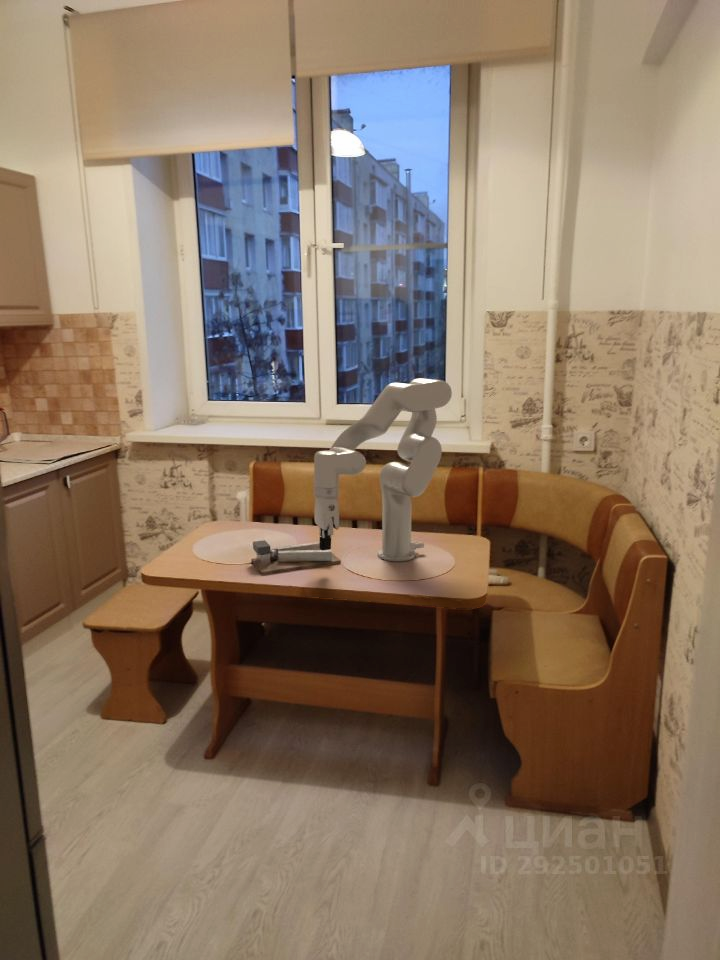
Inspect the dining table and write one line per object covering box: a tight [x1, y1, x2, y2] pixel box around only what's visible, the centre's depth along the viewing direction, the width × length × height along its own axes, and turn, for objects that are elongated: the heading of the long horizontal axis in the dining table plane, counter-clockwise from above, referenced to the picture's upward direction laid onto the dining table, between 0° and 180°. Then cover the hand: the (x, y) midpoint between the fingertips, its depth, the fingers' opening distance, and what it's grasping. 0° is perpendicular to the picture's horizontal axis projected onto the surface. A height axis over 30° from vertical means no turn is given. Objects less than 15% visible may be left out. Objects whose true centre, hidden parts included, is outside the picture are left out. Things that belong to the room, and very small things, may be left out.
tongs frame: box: [255, 541, 321, 565], centre depth 217 cm, size 24×6×3 cm, turn 113°
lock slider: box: [252, 539, 271, 555], centre depth 213 cm, size 4×6×2 cm, turn 23°
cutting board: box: [251, 552, 342, 576], centre depth 216 cm, size 26×13×1 cm, turn 113°
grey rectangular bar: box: [270, 549, 333, 562], centre depth 214 cm, size 20×4×3 cm, turn 93°
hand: (325, 549), depth 206 cm, fingers closed
